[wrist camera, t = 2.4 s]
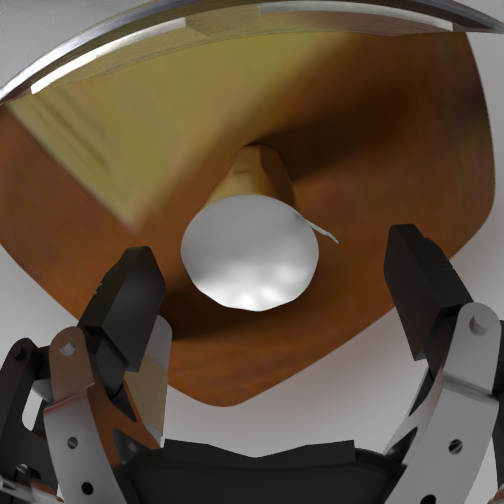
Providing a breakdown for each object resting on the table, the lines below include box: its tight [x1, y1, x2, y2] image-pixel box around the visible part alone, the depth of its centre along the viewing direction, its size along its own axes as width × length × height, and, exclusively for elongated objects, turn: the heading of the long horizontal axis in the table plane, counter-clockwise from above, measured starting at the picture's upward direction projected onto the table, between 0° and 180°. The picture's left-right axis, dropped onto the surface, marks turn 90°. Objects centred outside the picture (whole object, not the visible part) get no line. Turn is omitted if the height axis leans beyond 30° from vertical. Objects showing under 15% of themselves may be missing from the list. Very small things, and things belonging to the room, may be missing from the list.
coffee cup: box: [123, 315, 172, 445], centre depth 20 cm, size 9×9×15 cm
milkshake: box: [181, 144, 339, 311], centre depth 12 cm, size 4×5×10 cm
